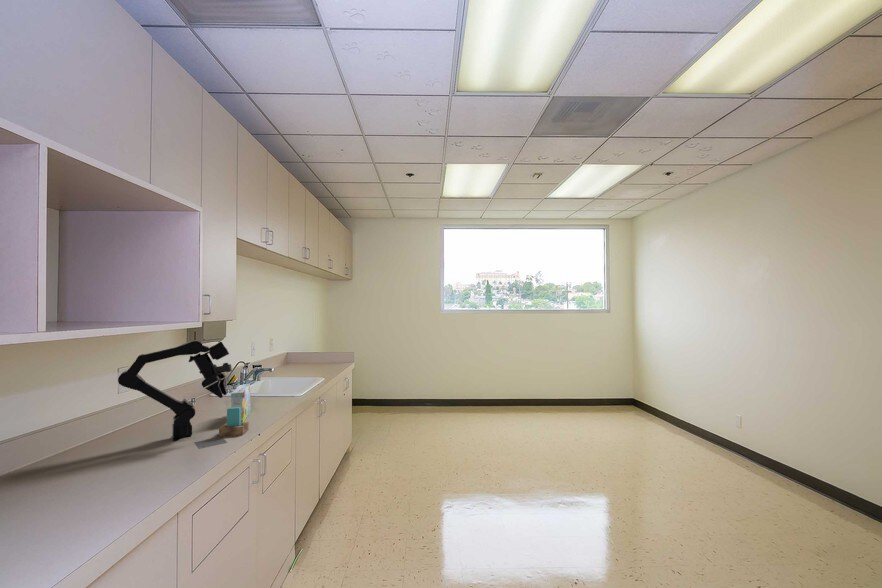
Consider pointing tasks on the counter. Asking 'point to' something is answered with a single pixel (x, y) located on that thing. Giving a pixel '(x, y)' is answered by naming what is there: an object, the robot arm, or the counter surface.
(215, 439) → the rubber mat
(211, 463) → the counter surface
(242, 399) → the snack box
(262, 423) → the counter surface
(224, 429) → the slot box
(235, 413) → the teal block
